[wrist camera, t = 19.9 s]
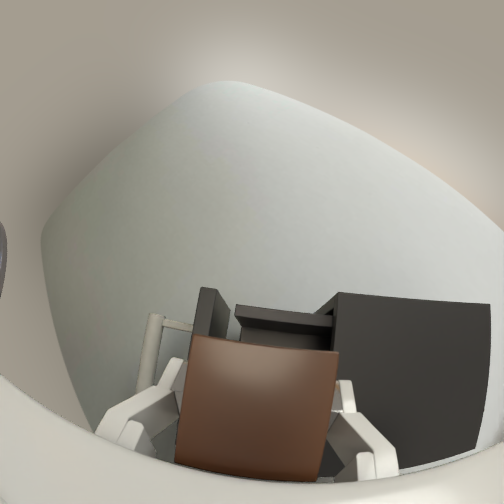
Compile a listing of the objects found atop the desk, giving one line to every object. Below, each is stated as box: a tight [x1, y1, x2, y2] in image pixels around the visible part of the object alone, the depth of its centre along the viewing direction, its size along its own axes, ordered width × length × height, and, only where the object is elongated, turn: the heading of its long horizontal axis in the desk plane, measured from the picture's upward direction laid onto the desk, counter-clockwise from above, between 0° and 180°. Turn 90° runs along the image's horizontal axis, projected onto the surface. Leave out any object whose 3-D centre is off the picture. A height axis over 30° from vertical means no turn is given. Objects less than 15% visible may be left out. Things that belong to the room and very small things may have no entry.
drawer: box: [135, 287, 333, 445], centre depth 20 cm, size 18×12×8 cm, turn 82°
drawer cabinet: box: [314, 292, 491, 477], centre depth 19 cm, size 15×13×10 cm
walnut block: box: [174, 334, 339, 482], centre depth 10 cm, size 4×4×8 cm
